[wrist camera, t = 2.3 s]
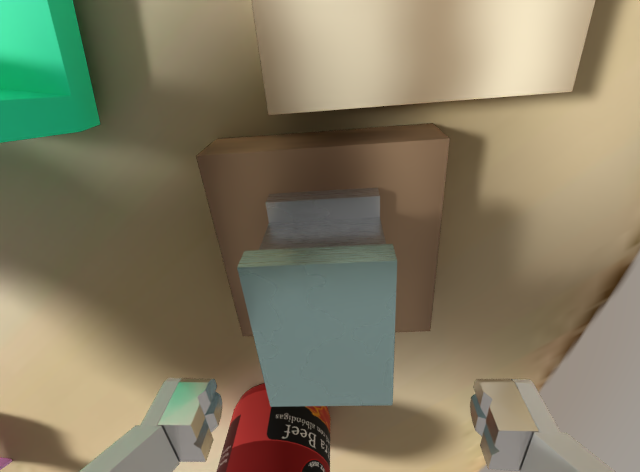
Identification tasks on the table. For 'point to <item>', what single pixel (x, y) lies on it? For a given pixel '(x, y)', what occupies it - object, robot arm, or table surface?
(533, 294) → the table surface
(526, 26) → the stand
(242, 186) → the stand
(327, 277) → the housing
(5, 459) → the toy chair
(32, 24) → the camera mount
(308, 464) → the canned food
